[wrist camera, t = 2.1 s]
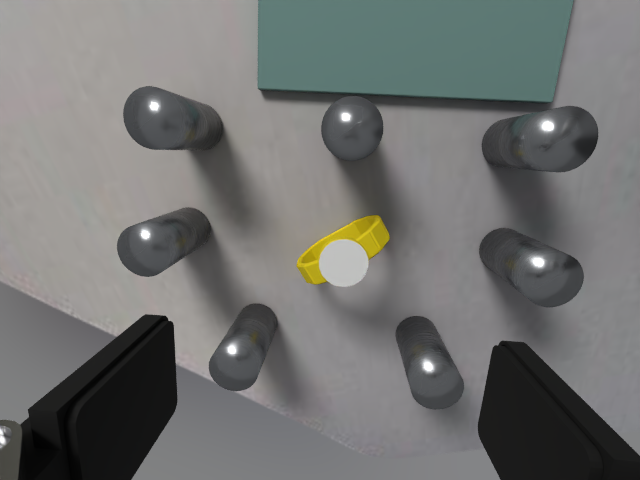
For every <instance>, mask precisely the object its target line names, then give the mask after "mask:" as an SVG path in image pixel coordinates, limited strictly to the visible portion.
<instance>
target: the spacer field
mask: <svg viewBox="0 0 640 480" xmlns="http://www.w3.org/2000/svg"><path fill="white" fill-rule="evenodd" d="M123 116H124V123H125V126H126V129H127V131H128V133H129V134H130V136H131V137H132V138H133V139H134V140H135V141H136V142H137V143H138V144H140V145H141V146H143V147H146V148H149V149H155V150H208V149H211V148H213V147H214V146H215V145H216V144H217V143H218V142H219V140H220V138H221V136H222V130H223V128H222V122H221V119H220V117H219V115H218V113H217V112H216V111H215V110H214V109H213V108H212V107H210V106H208V105H206V104H203V103H200V102H197V101H194V100H191V99H189V98H186V97H183V96H180V95H177V94H174V93H171V92H169V91H166V90H163V89H160V88H157V87H152V86H146V87H142V88H139V89H137V90H135V91H134V92H133V93H132V94H131V95H130V96H129V97H128V99H127V101H126V103H125V106H124V112H123ZM321 132H322V137H323V141H324V143H325V145H326V147H327V148H328V149H329V151H330V152H331V153H332V154H334V155H335V156H337V157H338V158H341V159H344V160H350V161H352V160H359V159H362V158H365V157H367V156H368V155H370V154H371V153H372V152H373V151H374V150H375V149H376V148H377V146H378V145H379V143H380V141H381V138H382V135H383V120H382V117H381V114H380V112H379V110H378V109H377V107H376V106H375V105H374V104H373V103H372V102H370V101H369V100H367V99H365V98H363V97H359V96H347V97H344V98H341V99H339V100H337V101H336V102H334V103H333V104H332V105H331V106H330V107H329V108H328V110H327V111H326V113H325V115H324V117H323V121H322V127H321ZM597 140H598V127H597V124H596V121H595V119H594V118H593V116H592V115H591V114H590V113H589V112H587V111H586V110H584V109H582V108H579V107H575V106H565V107H560V108H555V109H550V110H546V111H541V112H536V113H531V114H526V115H522V116H517V117H512V118H507V119H503V120H500V121H498V122H496V123H494V124H493V125H492V126H491V127H490V128H489V129H488V130H487V131H486V133H485V135H484V137H483V141H482V152H483V155H484V157H485V158H486V160H487V161H488V162H489V163H491V164H492V165H494V166H497V167H505V168H516V169H527V170H538V171H549V172H566V171H570V170H573V169H575V168H577V167H579V166H580V165H582V164H583V163H584V162H585V161H586V160H587V159H588V158H589V157H590V156H591V154H592V153H593V151H594V149H595V147H596V144H597ZM210 232H211V228H210V223H209V221H208V219H207V217H206V216H205V215H204V214H203V213H202V212H200V211H199V210H197V209H194V208H182V209H179V210H176V211H173V212H170V213H167V214H165V215H162V216H159V217H156V218H153V219H150V220H147V221H144V222H141V223H138V224H136V225H133V226H130V227H128V228H127V229H125V230H124V231H123V232H122V233H121V235H120V237H119V239H118V243H117V250H118V255H119V257H120V260H121V261H122V263H123V264H124V266H125V267H126V268H127V269H129V270H130V271H131V272H133V273H135V274H137V275H140V276H145V277H150V276H155V275H157V274H159V273H161V272H163V271H164V270H166V269H167V268H169V267H170V266H172V265H173V264H175V263H176V262H178V261H179V260H181V259H182V258H184V257H185V256H187V255H188V254H190V253H191V252H193V251H195V250H196V249H198V248H199V247H201V246H202V245H204V244H205V243H206V242H207V240H208V239H209V236H210ZM479 254H480V258H481V260H482V262H483V263H484V264H485V265H486V266H488V267H489V268H490V269H491V270H493V271H494V272H495V273H496V274H498V275H499V276H500V277H501V278H503V279H504V280H505V281H507V282H508V283H509V284H510V285H512V286H513V287H514V288H515V289H517V290H518V291H519V292H520V293H522V294H523V295H524V296H526V297H527V298H528V299H529V300H531V301H532V302H533V303H535V304H537V305H539V306H543V307H555V306H559V305H562V304H565V303H567V302H568V301H570V300H571V299H573V298H574V297H575V296H576V294H577V293H578V292H579V290H580V289H581V287H582V284H583V279H584V274H583V269H582V267H581V265H580V263H579V262H578V261H577V260H576V259H575V258H573V257H572V256H570V255H568V254H565V253H563V252H561V251H559V250H557V249H554V248H552V247H550V246H548V245H545V244H543V243H541V242H539V241H537V240H534V239H532V238H530V237H528V236H526V235H523V234H521V233H519V232H517V231H515V230H512V229H509V228H500V229H496V230H493V231H492V232H490V233H489V234H487V235H486V236H485V237H484V239H483V240H482V242H481V244H480V248H479ZM276 327H277V318H276V316H275V314H274V312H273V311H272V310H271V309H270V308H269V307H267V306H265V305H263V304H250V305H248V306H246V307H244V308H243V309H242V311H241V312H240V314H239V315H238V317H237V318H236V320H235V321H234V323H233V324H232V326H231V328H230V329H229V331H228V332H227V334H226V335H225V337H224V338H223V340H222V342H221V343H220V345H219V346H218V348H217V349H216V351H215V352H214V354H213V355H212V357H211V359H210V362H209V371H210V374H211V377H212V378H213V380H214V381H215V382H216V383H217V384H218V385H219V386H221V387H223V388H225V389H227V390H231V391H241V390H245V389H247V388H249V387H251V386H252V385H253V384H254V383H255V381H256V379H257V377H258V374H259V372H260V369H261V366H262V364H263V361H264V359H265V356H266V353H267V351H268V348H269V346H270V343H271V340H272V338H273V335H274V333H275V330H276ZM396 340H397V343H398V347H399V350H400V354H401V357H402V361H403V364H404V368H405V371H406V375H407V378H408V382H409V385H410V389H411V392H412V395H413V397H414V399H415V400H416V401H417V402H418V403H419V404H420V405H422V406H424V407H426V408H429V409H444V408H447V407H450V406H452V405H453V404H455V403H456V402H457V401H458V400H459V399H460V397H461V396H462V393H463V390H464V383H463V379H462V377H461V375H460V373H459V371H458V370H457V368H456V366H455V364H454V362H453V360H452V358H451V356H450V354H449V352H448V351H447V349H446V347H445V345H444V343H443V341H442V339H441V337H440V335H439V333H438V332H437V330H436V328H435V326H434V324H433V323H432V322H431V321H430V320H429V319H427V318H424V317H421V316H413V317H409V318H407V319H405V320H403V321H402V322H401V323H400V324H399V326H398V327H397V330H396Z"/></svg>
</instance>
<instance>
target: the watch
mask: <svg viewBox="0 0 640 480" xmlns="http://www.w3.org/2000/svg"><path fill="white" fill-rule="evenodd" d="M389 239H390V236H389V232H388V230H387V228H386V227H385V225H384V223H383V221H382V219H381V218H380V216H378V215H370V216H366V217H363V218H361V219H358V220H355V221H352V223H350V224H348V225H346V226H345V227H343V228H341V229H339V230H337V231H336V232H334V233H332V234H330V235H328V236H326V237H325V238H323V239H321V240H319V241H318V242H317V243H315V244H314V245H313V246H311V247H310V248H308V250H306V251H305V252H304V253H303V254H302V255H301V256H300V257H299V259H298V262H297V268H298V269H299V271H300V272H301V274H302V276H303V277H304V279H305V280H306V282H307V283H311V284H321V283H325V282H329V283H331V284H332V285H335V286H339V287H349V286H352V285H354V284H356V283H358V282H359V281H360V280H362V279H363V277H364V276H365V274H366V273H367V269H368V266H369V260H370V259H371V258H372V257H374V256H375V255H376V254H378V253H379V251H381V250H382V249H383V247H384V246H385V245H386V244H387V242H388V241H389Z"/></svg>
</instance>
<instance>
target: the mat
mask: <svg viewBox="0 0 640 480" xmlns="http://www.w3.org/2000/svg"><path fill="white" fill-rule="evenodd" d="M572 5H573V0H258V89H259V90H274V91H295V92H317V93H338V94H360V95H381V96H402V97H424V98H445V99H467V100H488V101H509V102H531V103H550V102H552V101H553V96H554V92H555V87H556V82H557V77H558V72H559V68H560V63H561V58H562V53H563V48H564V44H565V39H566V34H567V29H568V24H569V20H570V15H571V10H572Z"/></svg>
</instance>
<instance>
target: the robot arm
mask: <svg viewBox="0 0 640 480" xmlns="http://www.w3.org/2000/svg"><path fill="white" fill-rule="evenodd" d="M176 384H177V383H176V363H175V343H174V325H173V322H172V321H168V318H167V317H166V316H161V315H147V314H146V315H144V316H142V317H141V318H140V319H139V320H137V321H136V322H135V323H134V324H133V325H131V326H130V327H129V328H128V329H126V330H125V331H124V332H123V333H121V334H120V335H119V336H118V337H117V338H115V339H114V340H113V341H112V342H111V343H109V344H108V345H107V346H105V347H104V348H103V349H102V350H101V351H99V352H98V353H97V354H96V355H94V356H93V357H92V358H91V359H89V360H88V361H87V362H86V363H85V364H83V365H82V366H81V367H80V368H78V369H77V370H76V371H75V372H74V373H73V374H71V375H70V376H69V377H67V378H66V379H65V380H64V381H62V382H61V383H60V384H59V385H57V386H56V387H55V388H54V389H52V390H51V391H50V392H49V393H48V394H46V395H45V396H44V397H43V398H41V399H40V400H39V401H38V402H36V403H35V404H34V405H33V406H32V407H30V408H29V409H28V413H29V418H28V419H26V420H25V421H24V422H23V423H22V424H21V425H20V424H18V423H17V422H15V421H10V420H0V480H131V479H132V477H133V476H134V474H135V473H136V471H137V470H138V468H139V467H140V465H141V463H142V462H143V460H144V459H145V457H146V456H147V454H148V453H149V451H150V449H151V448H152V446H153V445H154V443H155V442H156V440H157V439H158V437H159V435H160V434H161V432H162V431H163V429H164V428H165V426H166V425H167V423H168V421H169V420H170V418H171V417H172V415H173V413H174V412H175V409H176V405H177V385H176ZM478 433H479V437H480V440H481V442H482V444H483V446H484V448H485V450H486V452H487V454H488V456H489V457H490V459H491V462H492V464H493V465H494V468H495V469H496V471H497V473H498V475H499V477H500V479H501V480H640V456H639V455H638V454H637V453H636V452H635V451H634V450H633V449H632V448H631V447H630V446H629V445H628V444H627V443H626V442H625V441H624V440H623V439H622V438H621V437H620V436H619V435H618V434H617V433H616V432H615V431H614V430H613V429H612V428H611V427H610V426H609V425H608V424H607V423H606V422H605V421H604V420H603V419H602V418H601V417H600V416H599V415H598V414H597V413H596V412H595V411H594V410H593V409H592V408H591V407H590V406H589V405H588V404H587V403H586V402H585V401H584V400H583V399H582V398H581V397H580V396H579V395H578V394H577V393H575V392H574V391H573V390H572V389H571V388H570V387H569V386H568V385H567V384H566V383H565V382H564V381H563V380H562V379H561V378H560V377H559V376H558V375H557V374H556V373H555V372H554V371H553V370H552V369H551V368H550V367H549V366H548V365H547V364H546V363H545V362H544V361H543V360H542V359H541V358H540V357H539V356H538V355H537V354H536V353H535V352H534V351H533V350H532V349H531V348H530V347H529V346H528V345H527V344H525V343H524V342H512V341H501V342H500V343H499V345H498V346H497V345H495V346H494V347H493V350H492V354H491V359H490V365H489V370H488V375H487V380H486V385H485V391H484V396H483V401H482V406H481V411H480V417H479V422H478Z"/></svg>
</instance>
